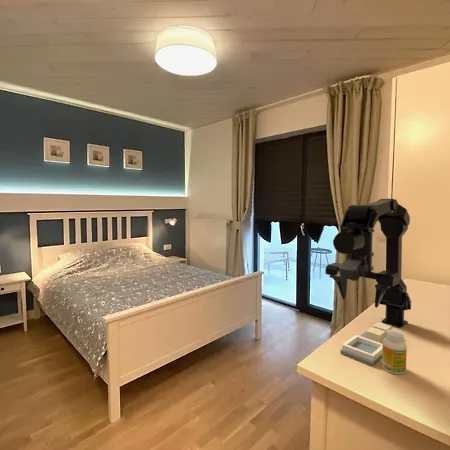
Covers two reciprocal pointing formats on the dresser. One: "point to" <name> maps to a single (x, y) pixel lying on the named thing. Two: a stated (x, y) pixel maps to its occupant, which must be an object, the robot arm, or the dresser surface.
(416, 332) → the dresser surface
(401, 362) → the supplement bottle
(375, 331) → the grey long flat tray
